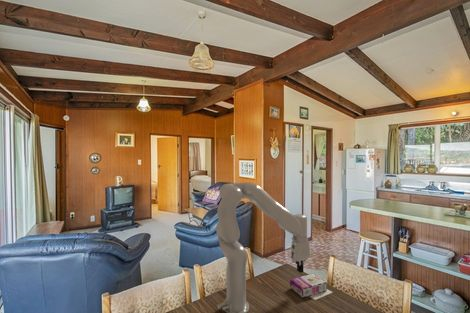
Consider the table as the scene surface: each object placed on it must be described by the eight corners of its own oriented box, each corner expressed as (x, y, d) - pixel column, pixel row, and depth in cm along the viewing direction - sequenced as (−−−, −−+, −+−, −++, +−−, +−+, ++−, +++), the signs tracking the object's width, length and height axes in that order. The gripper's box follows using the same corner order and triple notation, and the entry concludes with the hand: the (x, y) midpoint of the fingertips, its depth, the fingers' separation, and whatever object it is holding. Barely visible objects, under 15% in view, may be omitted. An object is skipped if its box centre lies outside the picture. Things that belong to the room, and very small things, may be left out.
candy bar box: (302, 298, 129) (327, 291, 135) (302, 289, 128) (327, 282, 135) (289, 287, 139) (313, 281, 145) (289, 278, 139) (313, 272, 145)
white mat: (315, 300, 127) (315, 299, 127) (289, 283, 144) (289, 282, 144) (332, 292, 134) (332, 292, 134) (306, 277, 150) (306, 276, 150)
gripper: (294, 242, 127) (294, 278, 128) (315, 237, 135) (315, 270, 135) (284, 238, 134) (284, 272, 134) (304, 233, 141) (305, 265, 142)
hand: (300, 271), depth 135 cm, fingers closed
